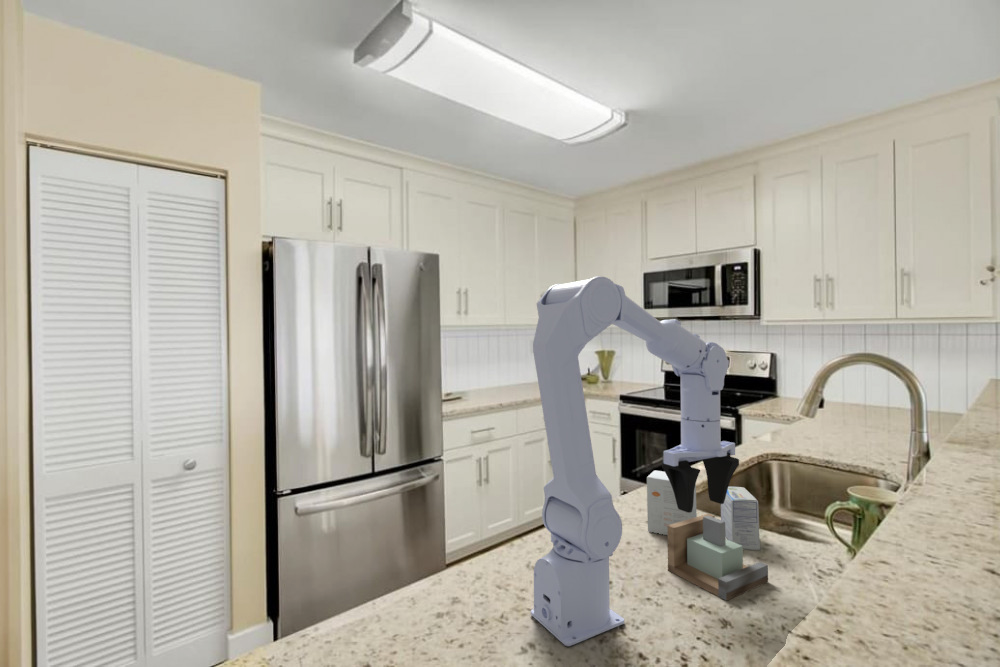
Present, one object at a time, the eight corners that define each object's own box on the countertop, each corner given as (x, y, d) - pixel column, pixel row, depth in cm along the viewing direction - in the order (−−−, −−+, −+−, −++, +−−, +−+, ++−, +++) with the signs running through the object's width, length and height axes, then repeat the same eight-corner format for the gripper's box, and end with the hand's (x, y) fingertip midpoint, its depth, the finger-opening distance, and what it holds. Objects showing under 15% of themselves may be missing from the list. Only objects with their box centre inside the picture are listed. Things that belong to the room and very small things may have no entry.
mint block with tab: (722, 581, 68) (721, 529, 68) (687, 564, 73) (686, 516, 73) (742, 572, 70) (742, 522, 71) (707, 556, 76) (707, 510, 76)
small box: (697, 530, 89) (696, 475, 89) (691, 541, 84) (691, 482, 84) (654, 522, 93) (653, 469, 93) (646, 532, 88) (646, 476, 88)
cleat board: (726, 600, 65) (725, 549, 65) (667, 570, 73) (667, 525, 73) (768, 581, 70) (767, 534, 70) (708, 555, 78) (708, 513, 78)
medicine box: (760, 551, 80) (759, 500, 80) (732, 549, 81) (731, 499, 81) (745, 533, 88) (745, 486, 88) (720, 531, 88) (719, 485, 89)
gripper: (691, 426, 66) (692, 523, 66) (752, 418, 73) (754, 505, 73) (652, 419, 72) (653, 508, 72) (712, 412, 79) (713, 493, 79)
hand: (701, 506), depth 73 cm, fingers open, 7 cm apart
